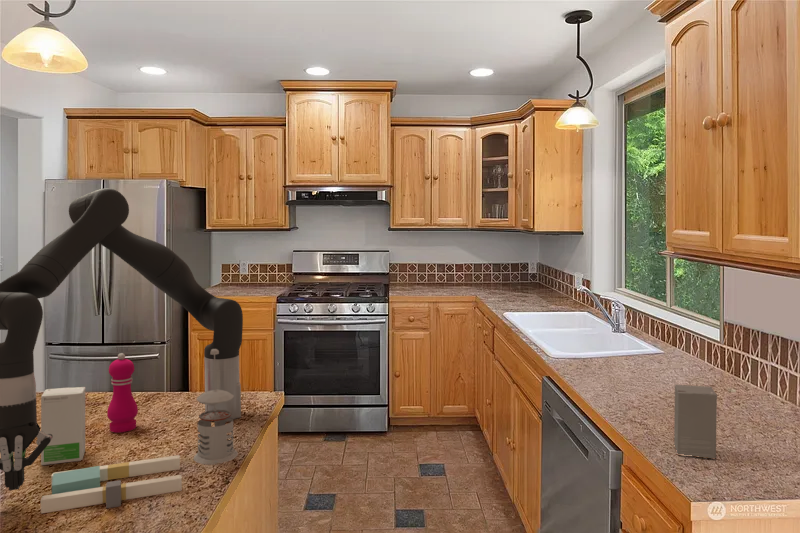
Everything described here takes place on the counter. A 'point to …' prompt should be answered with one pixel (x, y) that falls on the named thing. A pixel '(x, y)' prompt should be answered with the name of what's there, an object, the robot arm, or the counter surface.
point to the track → (119, 485)
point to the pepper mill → (122, 396)
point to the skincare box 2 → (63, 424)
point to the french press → (215, 428)
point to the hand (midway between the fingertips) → (14, 488)
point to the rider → (76, 480)
